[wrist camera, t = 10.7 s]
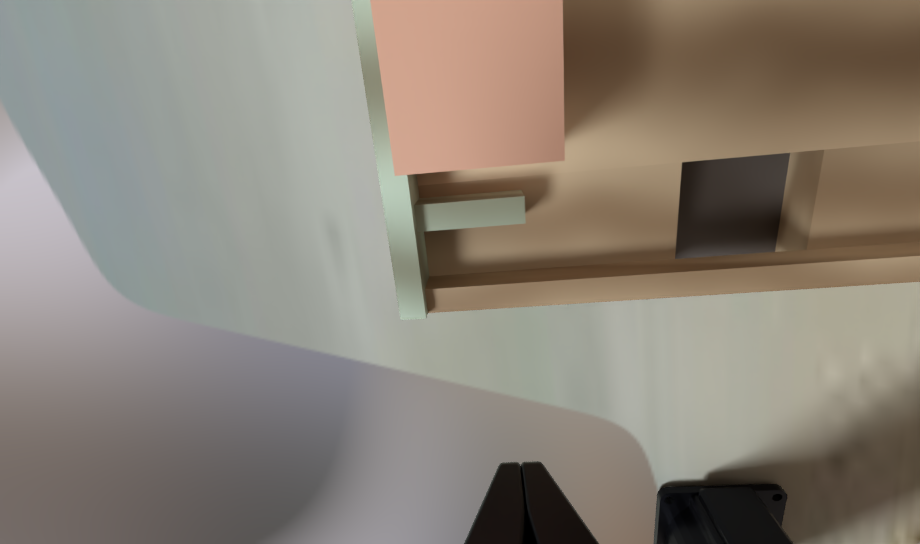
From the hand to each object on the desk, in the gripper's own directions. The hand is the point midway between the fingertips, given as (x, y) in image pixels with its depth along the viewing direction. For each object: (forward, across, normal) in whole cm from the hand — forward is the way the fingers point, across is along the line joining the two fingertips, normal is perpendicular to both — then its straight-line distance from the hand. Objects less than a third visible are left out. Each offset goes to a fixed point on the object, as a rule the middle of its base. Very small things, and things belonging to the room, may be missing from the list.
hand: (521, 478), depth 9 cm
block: (+10, 0, -8) cm, 13 cm away
